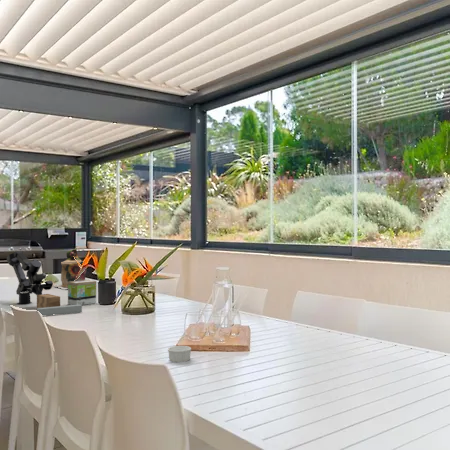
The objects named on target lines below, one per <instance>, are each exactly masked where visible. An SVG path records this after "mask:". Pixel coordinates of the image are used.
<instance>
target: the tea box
mask: <svg viewBox="0 0 450 450" xmlns="http://www.w3.org/2000/svg"><path fill="white" fill-rule="evenodd" d="M96 303H97V281H96V280H90V279H89V280H88V279H85V280H83V281H73V282H68V289H67V305H79V304H80V305H82V306H84V305H85V306H86V305H90V304H91V305H93V304H96Z"/></svg>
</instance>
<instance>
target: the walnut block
mask: <svg viewBox="0 0 450 450" xmlns="http://www.w3.org/2000/svg"><path fill="white" fill-rule="evenodd" d="M57 306H61V296H60V295H59V296H58V295H56V294H55V295H54V294H51V293H44V294H43V293H42V295H36V309H37V308H46V307H57Z"/></svg>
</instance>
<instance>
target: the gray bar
mask: <svg viewBox="0 0 450 450" xmlns="http://www.w3.org/2000/svg"><path fill="white" fill-rule="evenodd" d="M37 310H38V311H39V312H40V313H41V314H42V315H52V316H54V315H53V314H63V315H71V314H70V313H73V314H81V313H80V312H82V313H83V305H80V304H79V305H69V304H67V305H60V306H57V307H46V308H37V307H36V311H37Z"/></svg>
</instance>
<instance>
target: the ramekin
mask: <svg viewBox="0 0 450 450" xmlns="http://www.w3.org/2000/svg"><path fill="white" fill-rule="evenodd" d="M191 351H192V347H191V346H188V345H173V346H170V347H168V349H167V352H168V359H169V361H170V362H172V363H184V362H188V361H190V359H191Z"/></svg>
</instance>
